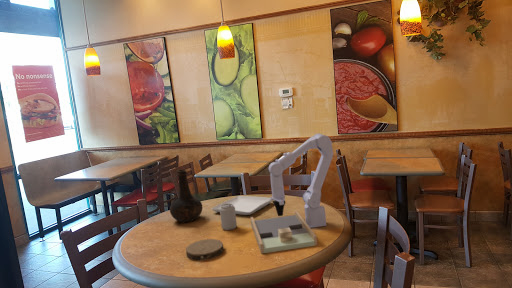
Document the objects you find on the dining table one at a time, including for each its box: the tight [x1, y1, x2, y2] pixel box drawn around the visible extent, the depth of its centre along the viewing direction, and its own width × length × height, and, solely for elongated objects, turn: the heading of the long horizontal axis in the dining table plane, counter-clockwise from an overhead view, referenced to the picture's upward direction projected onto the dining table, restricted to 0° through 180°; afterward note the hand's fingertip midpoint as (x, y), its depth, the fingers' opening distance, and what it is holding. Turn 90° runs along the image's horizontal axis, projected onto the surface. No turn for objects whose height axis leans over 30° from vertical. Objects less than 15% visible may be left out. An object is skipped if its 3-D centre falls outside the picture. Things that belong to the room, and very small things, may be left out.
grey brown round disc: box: [185, 238, 225, 261], centre depth 166 cm, size 16×16×3 cm
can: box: [219, 204, 238, 231], centre depth 192 cm, size 8×8×12 cm
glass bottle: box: [169, 169, 203, 223], centre depth 211 cm, size 18×18×28 cm
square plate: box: [211, 195, 274, 216], centre depth 223 cm, size 27×27×4 cm
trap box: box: [249, 210, 318, 254], centre depth 177 cm, size 24×36×4 cm, turn 7°
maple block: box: [278, 228, 292, 242], centre depth 166 cm, size 5×5×4 cm
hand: (280, 215), depth 183 cm, fingers closed
